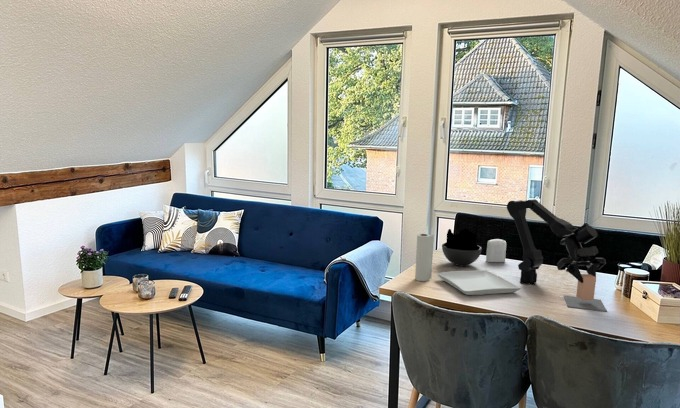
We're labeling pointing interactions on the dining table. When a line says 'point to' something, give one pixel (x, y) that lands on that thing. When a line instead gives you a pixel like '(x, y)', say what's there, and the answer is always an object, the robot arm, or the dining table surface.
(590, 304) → the rubber mat
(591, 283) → the terracotta block
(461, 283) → the square plate
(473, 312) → the dining table surface
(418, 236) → the paper towel roll
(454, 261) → the coal bowl
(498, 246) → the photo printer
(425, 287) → the dining table surface
